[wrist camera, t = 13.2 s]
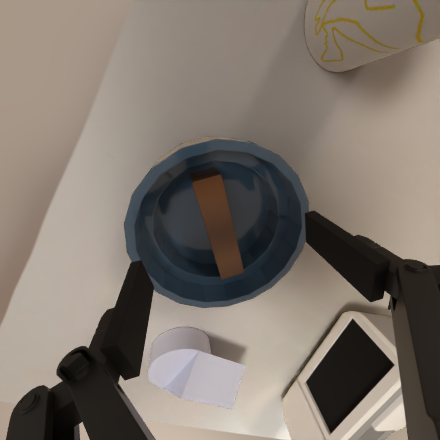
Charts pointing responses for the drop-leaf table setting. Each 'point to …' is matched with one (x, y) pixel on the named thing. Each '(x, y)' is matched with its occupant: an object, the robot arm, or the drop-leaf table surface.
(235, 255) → the stick
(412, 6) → the white patterned canister
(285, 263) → the bowl
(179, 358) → the wedge on round base
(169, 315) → the drop-leaf table surface
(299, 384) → the alarm clock
